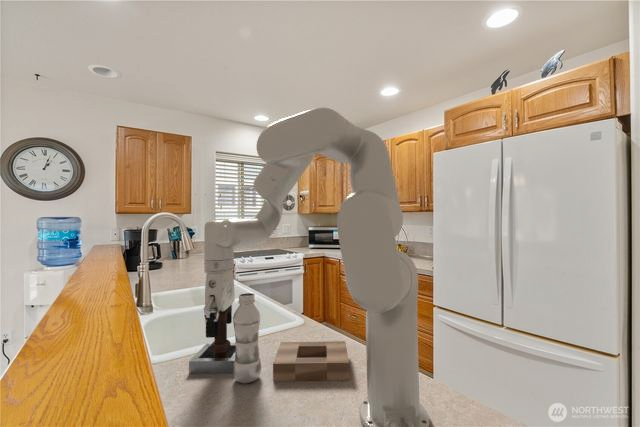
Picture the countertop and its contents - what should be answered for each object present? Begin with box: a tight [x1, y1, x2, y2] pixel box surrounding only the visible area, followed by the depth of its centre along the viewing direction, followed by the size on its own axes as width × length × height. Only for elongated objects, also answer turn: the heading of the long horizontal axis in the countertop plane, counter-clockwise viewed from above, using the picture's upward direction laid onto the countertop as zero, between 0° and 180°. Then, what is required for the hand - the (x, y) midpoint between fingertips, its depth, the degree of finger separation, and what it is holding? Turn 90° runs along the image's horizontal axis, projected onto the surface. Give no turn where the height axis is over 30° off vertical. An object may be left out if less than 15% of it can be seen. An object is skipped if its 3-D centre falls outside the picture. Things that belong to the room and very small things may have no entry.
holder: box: [188, 342, 236, 375], centre depth 75 cm, size 10×12×3 cm
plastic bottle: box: [232, 292, 262, 384], centre depth 67 cm, size 6×7×20 cm
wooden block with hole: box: [272, 340, 351, 382], centre depth 72 cm, size 12×18×4 cm, turn 89°
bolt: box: [211, 305, 233, 358], centre depth 75 cm, size 6×5×15 cm
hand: (219, 329), depth 75 cm, fingers open, 9 cm apart
